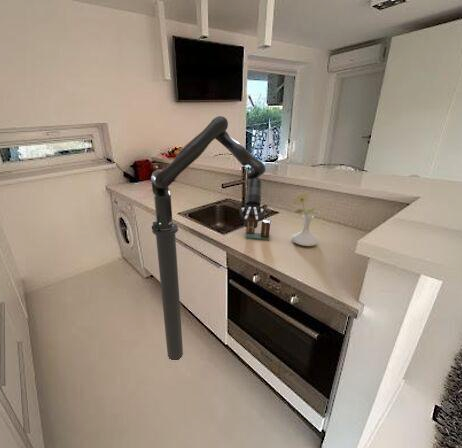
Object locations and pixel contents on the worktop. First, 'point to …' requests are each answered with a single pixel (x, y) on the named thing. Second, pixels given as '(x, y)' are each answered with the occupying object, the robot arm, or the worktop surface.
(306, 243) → the flower in vase
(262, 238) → the word mat
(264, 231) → the brown white-topped cylinder
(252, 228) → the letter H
